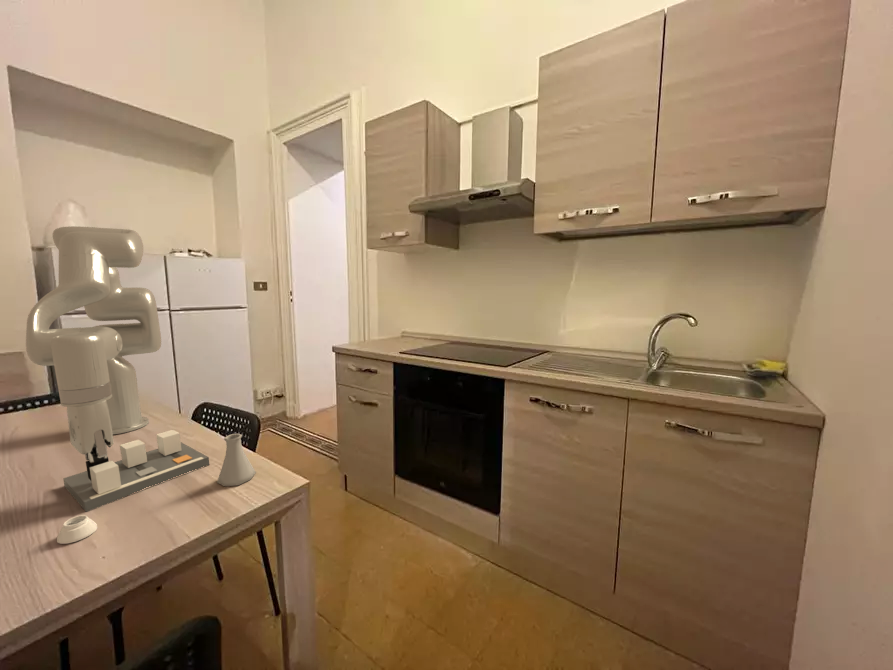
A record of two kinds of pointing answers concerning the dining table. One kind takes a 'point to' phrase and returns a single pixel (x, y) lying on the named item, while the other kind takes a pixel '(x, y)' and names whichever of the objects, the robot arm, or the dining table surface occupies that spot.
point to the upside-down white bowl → (76, 529)
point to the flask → (235, 463)
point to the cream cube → (168, 442)
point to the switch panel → (136, 476)
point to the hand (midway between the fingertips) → (99, 476)
